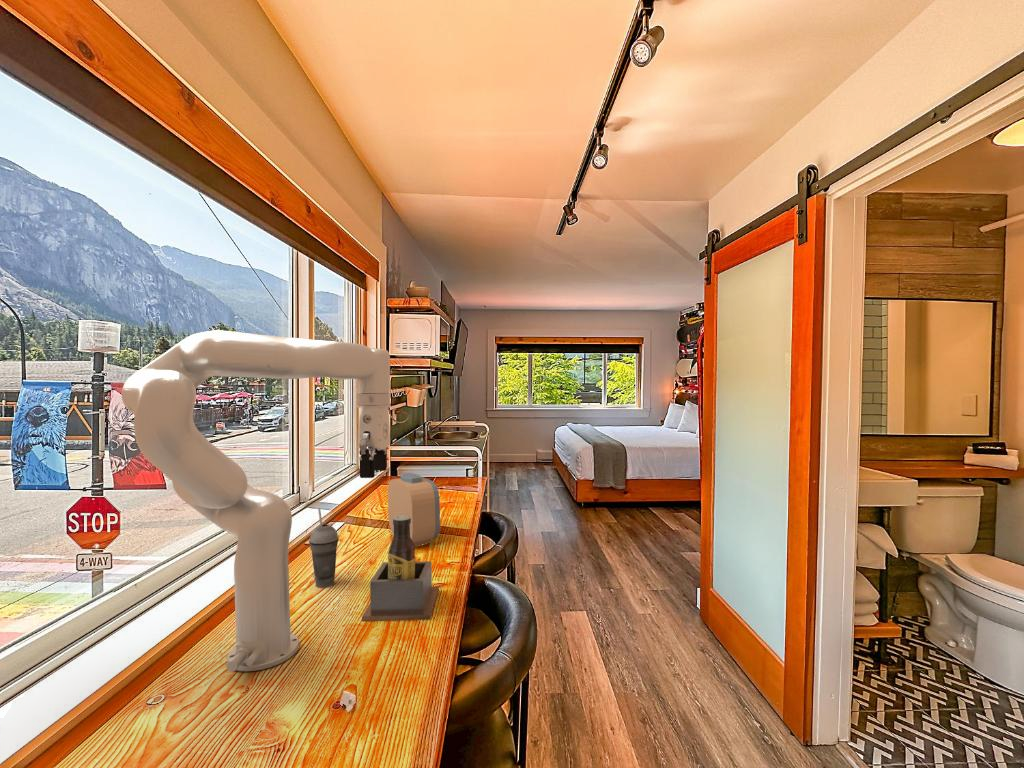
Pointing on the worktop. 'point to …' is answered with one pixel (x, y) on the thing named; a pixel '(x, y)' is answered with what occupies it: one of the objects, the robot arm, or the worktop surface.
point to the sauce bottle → (401, 550)
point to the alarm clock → (415, 506)
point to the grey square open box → (401, 595)
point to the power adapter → (348, 700)
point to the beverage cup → (324, 553)
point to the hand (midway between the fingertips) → (373, 473)
